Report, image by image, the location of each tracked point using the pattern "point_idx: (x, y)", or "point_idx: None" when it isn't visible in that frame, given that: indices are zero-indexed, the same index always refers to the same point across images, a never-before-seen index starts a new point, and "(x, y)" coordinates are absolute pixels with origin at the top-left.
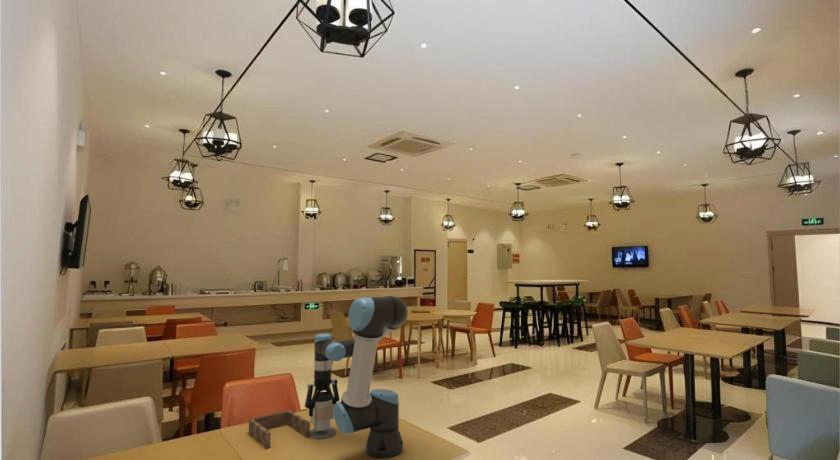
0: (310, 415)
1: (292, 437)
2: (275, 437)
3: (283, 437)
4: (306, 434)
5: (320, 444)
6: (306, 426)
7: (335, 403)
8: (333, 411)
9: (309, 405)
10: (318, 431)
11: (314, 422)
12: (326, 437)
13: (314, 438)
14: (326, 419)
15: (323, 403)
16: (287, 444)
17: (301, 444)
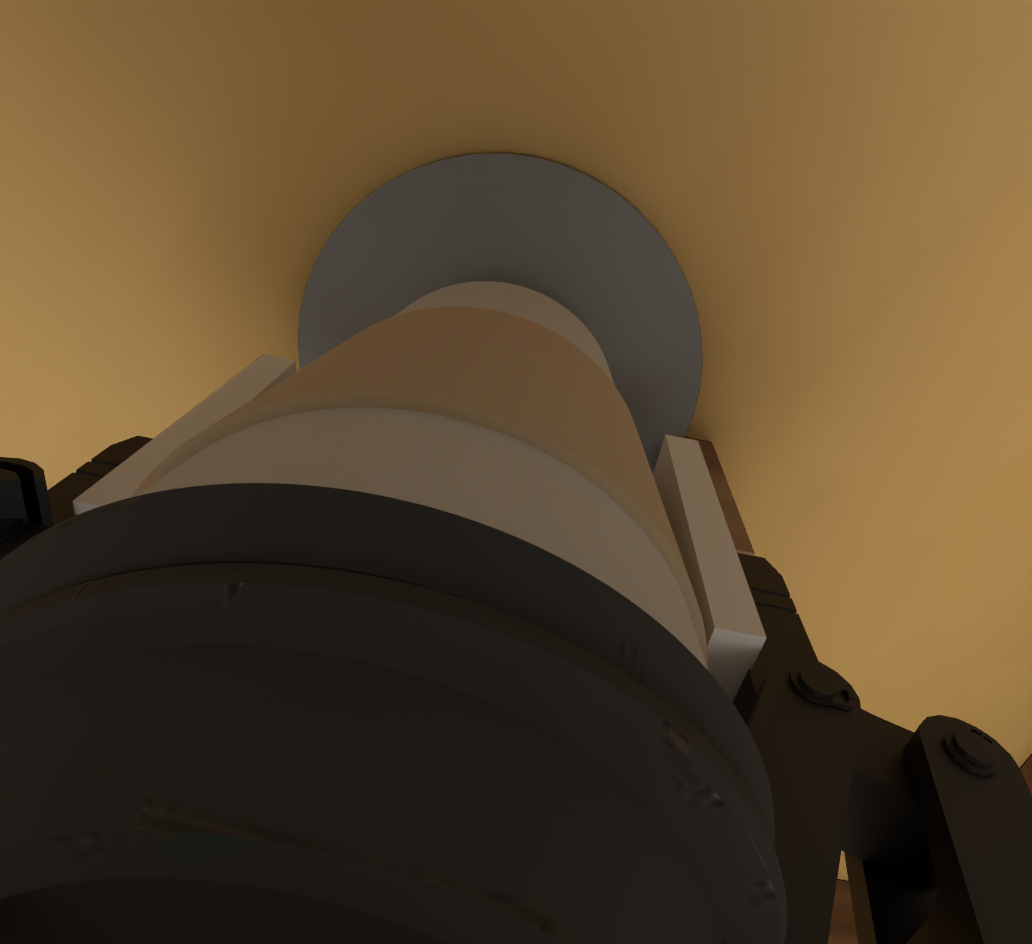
0: (780, 578)
1: (807, 571)
2: (901, 703)
3: (859, 644)
4: (717, 462)
5: (812, 30)
6: (740, 524)
7: (8, 491)
8: (197, 414)
9: (958, 793)
10: None
11: (680, 451)
12: (573, 170)
13: (695, 310)
14: (487, 313)
15: (565, 535)
16: (1027, 456)
17: (949, 300)
